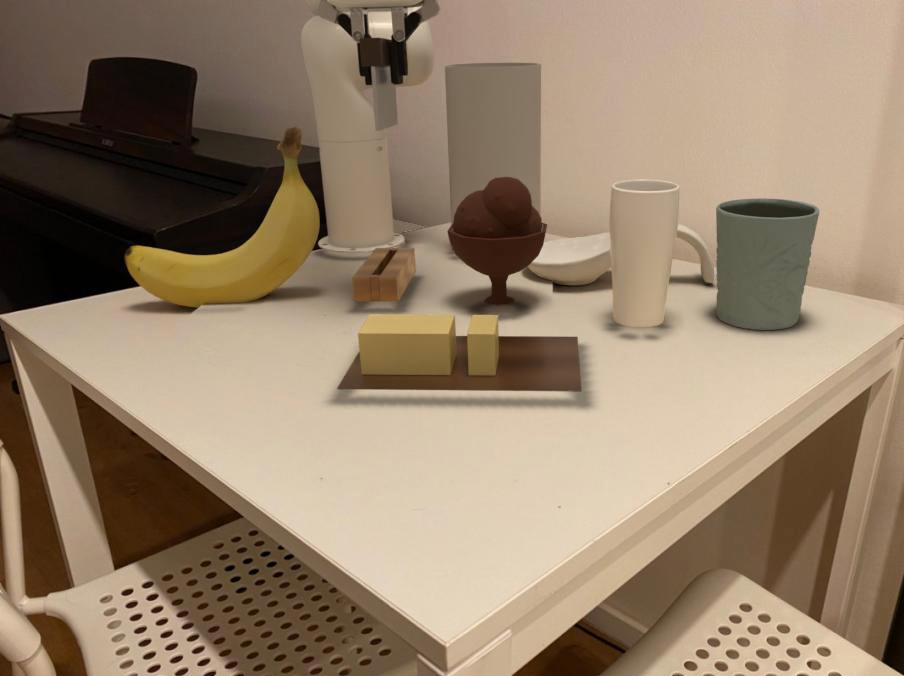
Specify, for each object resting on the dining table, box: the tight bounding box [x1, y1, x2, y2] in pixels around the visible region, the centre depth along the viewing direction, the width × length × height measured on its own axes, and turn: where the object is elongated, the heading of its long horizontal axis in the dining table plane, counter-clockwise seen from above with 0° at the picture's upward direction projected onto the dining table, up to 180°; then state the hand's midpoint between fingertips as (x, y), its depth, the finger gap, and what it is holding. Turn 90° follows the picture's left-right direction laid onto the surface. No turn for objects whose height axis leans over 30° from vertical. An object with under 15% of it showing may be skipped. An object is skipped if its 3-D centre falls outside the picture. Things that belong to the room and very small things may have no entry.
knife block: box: [351, 247, 417, 302], centre depth 97 cm, size 13×5×4 cm, turn 176°
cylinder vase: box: [444, 62, 542, 250], centre depth 109 cm, size 12×12×25 cm
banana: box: [124, 126, 321, 309], centre depth 90 cm, size 23×6×20 cm, turn 91°
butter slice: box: [466, 314, 500, 376], centre depth 72 cm, size 5×2×4 cm, turn 177°
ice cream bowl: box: [446, 177, 548, 306], centre depth 88 cm, size 11×11×15 cm
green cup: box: [715, 198, 820, 331], centre depth 85 cm, size 10×10×12 cm
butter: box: [357, 313, 457, 375], centre depth 73 cm, size 5×8×4 cm, turn 87°
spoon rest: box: [527, 223, 715, 286], centre depth 100 cm, size 24×12×7 cm, turn 85°
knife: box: [360, 38, 399, 131], centre depth 83 cm, size 11×2×8 cm, turn 176°
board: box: [336, 335, 583, 393], centre depth 74 cm, size 13×21×1 cm, turn 87°
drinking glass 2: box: [608, 179, 681, 328], centre depth 82 cm, size 7×7×15 cm
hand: (384, 82), depth 83 cm, fingers closed on knife, 2 cm apart
